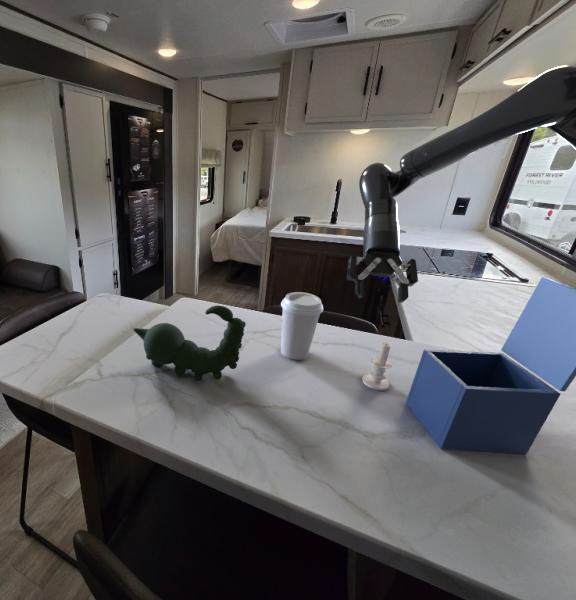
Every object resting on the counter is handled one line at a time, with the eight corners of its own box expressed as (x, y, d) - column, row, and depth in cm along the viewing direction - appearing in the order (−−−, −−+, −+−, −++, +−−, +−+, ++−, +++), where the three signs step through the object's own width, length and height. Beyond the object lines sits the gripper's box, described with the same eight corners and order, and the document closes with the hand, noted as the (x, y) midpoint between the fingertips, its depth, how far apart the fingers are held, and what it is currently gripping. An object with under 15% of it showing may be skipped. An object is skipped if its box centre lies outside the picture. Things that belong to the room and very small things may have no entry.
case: (440, 449, 58) (466, 388, 53) (405, 403, 69) (423, 349, 64) (526, 454, 57) (561, 393, 52) (477, 407, 68) (501, 352, 62)
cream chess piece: (384, 377, 77) (396, 337, 72) (392, 392, 72) (405, 350, 68) (359, 374, 78) (369, 334, 73) (365, 388, 73) (377, 347, 69)
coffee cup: (298, 340, 92) (306, 288, 85) (322, 359, 83) (334, 303, 77) (267, 346, 89) (274, 293, 83) (289, 366, 81) (298, 309, 74)
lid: (618, 306, 46) (624, 306, 46) (541, 276, 56) (546, 277, 56) (559, 391, 52) (565, 391, 52) (500, 350, 62) (505, 350, 62)
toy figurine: (237, 374, 81) (140, 348, 87) (251, 302, 72) (143, 280, 79) (229, 399, 72) (123, 369, 79) (244, 322, 64) (125, 295, 71)
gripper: (354, 227, 81) (352, 289, 76) (421, 231, 78) (424, 297, 73) (345, 242, 88) (343, 301, 83) (406, 247, 85) (408, 308, 79)
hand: (381, 299), depth 78 cm, fingers open, 8 cm apart
